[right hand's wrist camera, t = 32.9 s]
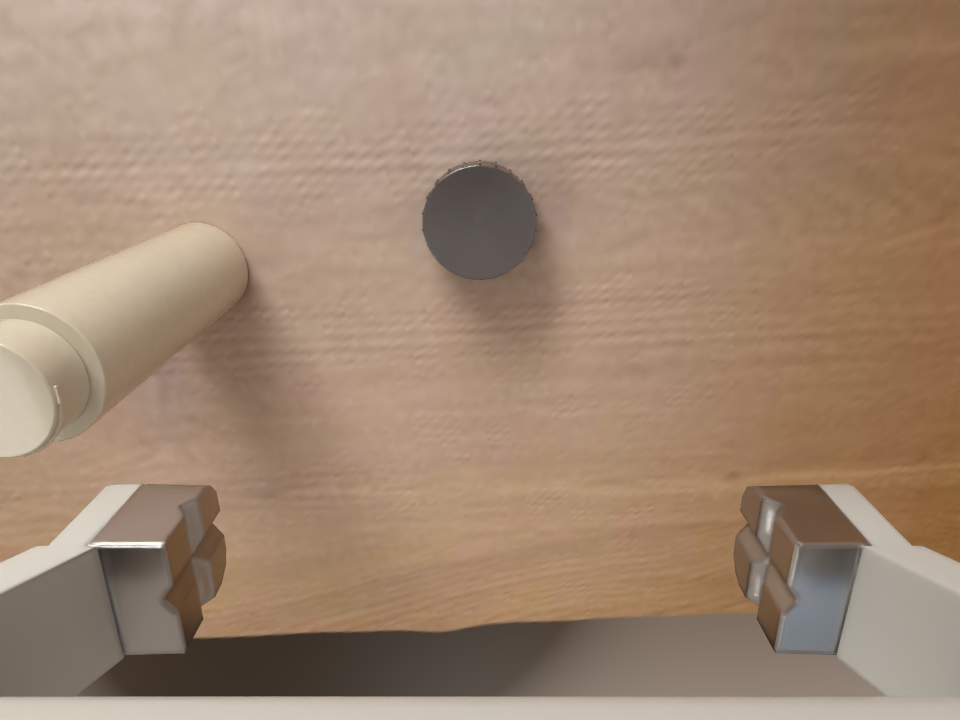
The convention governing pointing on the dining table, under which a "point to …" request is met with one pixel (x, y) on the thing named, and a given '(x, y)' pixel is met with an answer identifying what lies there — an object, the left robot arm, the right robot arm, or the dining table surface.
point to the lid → (479, 220)
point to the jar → (108, 330)
